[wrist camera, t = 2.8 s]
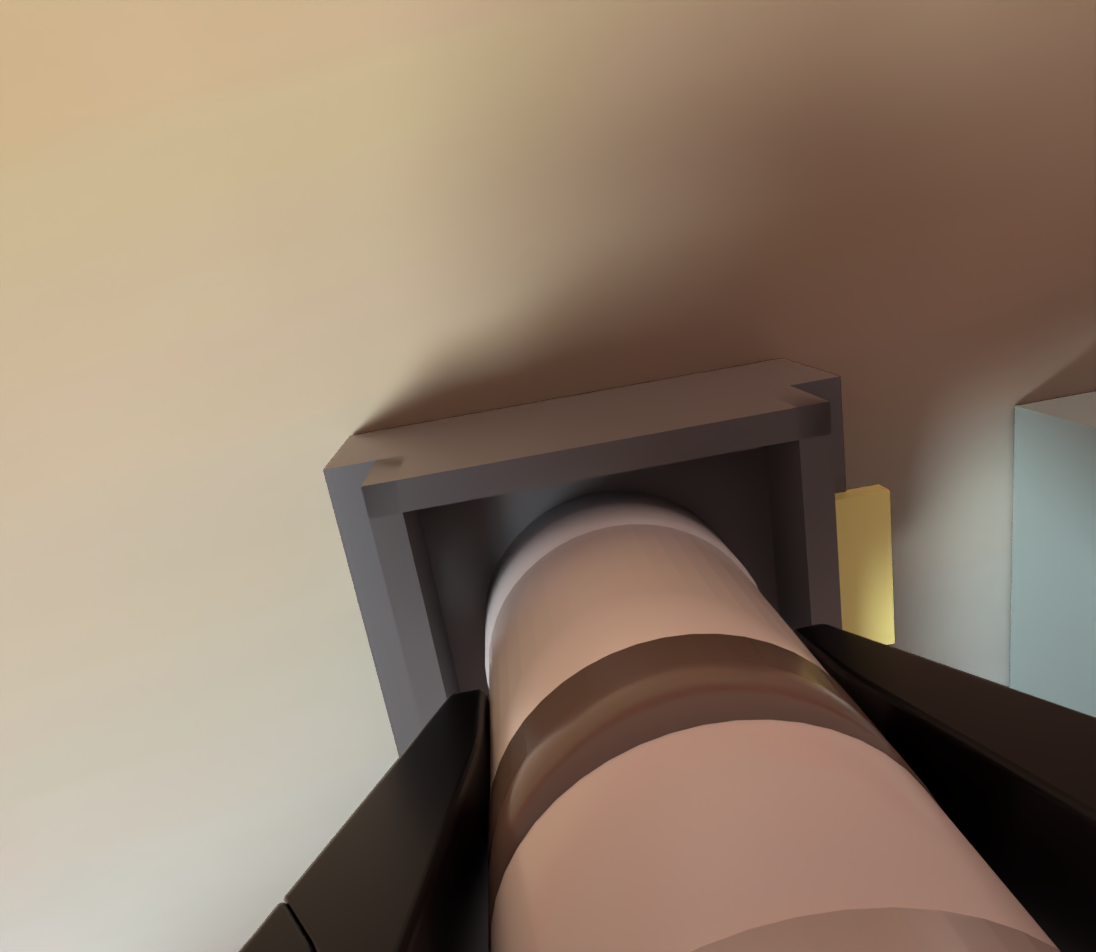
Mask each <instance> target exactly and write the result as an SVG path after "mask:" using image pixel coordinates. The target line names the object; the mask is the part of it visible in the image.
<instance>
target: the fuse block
mask: <svg viewBox="0 0 1096 952" xmlns="http://www.w3.org/2000/svg"><path fill="white" fill-rule="evenodd" d="M323 471H324V475H325V479H326V483H327V486H328V490H329V494H330V498H331V502H332V505H333V509H334V513H335V517H336V520H337V524H338V528H339V532H340V535H341V539H342V543H343V547H344V550H345V554H346V558H347V562H348V566H349V569H350V573H351V577H352V581H353V584H354V588H355V592H356V596H357V599H358V603H359V607H360V611H361V614H362V618H363V622H364V626H365V630H366V633H367V637H368V641H369V645H370V648H371V652H372V656H373V660H374V663H375V667H376V671H377V675H378V679H379V682H380V686H381V690H382V694H383V697H384V701H385V705H386V709H387V712H388V716H389V720H390V724H391V727H392V731H393V735H394V739H395V743H396V746H397V750H398V754H399V757H400V756H401V755H402V753H403V752H404V751H405V750H406V748H407V747H408V746H409V745H410V744H411V742H412V741H413V740H414V739H415V737H416V736H417V735H418V734H419V733H420V731H421V730H422V729H423V728H424V727H425V725H426V724H427V723H428V722H429V720H430V719H431V718H432V717H433V716H434V714H435V713H436V712H437V711H438V709H439V708H440V707H441V706H442V705H443V703H444V702H445V701H446V700H447V699H448V697H450V696H451V695H452V694H455V693H460V692H465V691H471V690H476V689H483V690H485V691H486V693H487V695H488V699H489V687H488V684H487V677H486V669H485V606H486V599H487V593H488V589H489V585H490V582H491V579H492V576H493V573H494V571H495V569H496V567H497V565H498V563H499V561H500V559H501V557H502V556H503V554H504V553H505V551H506V550H507V548H508V546H509V545H510V544H511V543H512V542H513V541H514V539H515V538H516V537H517V536H518V535H519V533H521V532H522V531H523V530H524V529H525V528H526V527H527V526H528V525H529V524H530V523H531V522H533V521H534V520H536V519H537V518H538V517H540V516H541V515H543V514H544V513H545V512H547V511H549V510H551V509H553V508H555V507H556V506H558V505H560V504H562V503H565V502H567V501H570V500H572V499H575V498H578V497H581V496H585V495H589V494H593V493H600V492H608V491H634V492H641V493H648V494H652V495H655V496H659V497H663V498H665V499H668V500H670V501H672V502H675V503H677V504H679V505H681V506H683V507H684V508H686V509H688V510H690V511H691V512H693V513H694V514H695V515H697V516H698V517H699V518H700V519H702V520H703V521H704V522H705V523H706V524H707V525H708V526H709V527H710V528H711V529H712V530H713V531H714V532H715V533H716V534H717V535H718V537H719V538H720V539H721V540H722V541H723V542H724V544H725V545H726V546H727V547H728V548H729V550H730V551H731V552H732V553H733V554H734V555H735V557H736V558H737V559H738V560H739V561H740V562H741V564H742V565H743V566H744V567H745V568H746V570H747V571H748V573H749V574H750V576H751V577H752V578H753V580H754V581H755V583H756V585H757V587H758V589H759V591H760V592H761V594H762V595H763V596H764V597H765V598H766V600H767V601H768V602H769V603H770V604H771V606H772V607H773V608H774V609H775V610H776V612H777V613H778V614H779V615H780V616H781V618H782V619H783V620H784V621H785V622H786V624H787V625H788V626H789V627H790V628H791V630H792V631H793V630H794V629H797V628H801V627H807V626H812V625H817V624H828V625H830V626H833V627H836V628H839V629H842V630H845V631H848V632H851V633H853V634H856V635H859V636H862V637H865V638H868V639H871V640H874V641H877V642H879V643H882V644H885V645H889V644H894V643H895V636H894V605H893V573H892V542H891V511H890V490H888V489H887V488H885V487H883V486H881V485H879V484H877V485H871V486H866V487H860V488H855V489H850V490H846V480H845V460H844V440H843V420H842V400H841V380H840V376H838V375H835V374H831V373H828V372H825V371H822V370H819V369H816V368H812V367H809V366H806V365H803V364H800V363H797V362H793V361H790V360H787V359H784V358H780V359H775V360H769V361H764V362H758V363H753V364H747V365H741V366H736V367H730V368H725V369H719V370H714V371H708V372H702V373H697V374H691V375H686V376H680V377H675V378H669V379H663V380H658V381H652V382H647V383H641V384H636V385H630V386H624V387H619V388H613V389H608V390H602V391H597V392H591V393H585V394H580V395H574V396H569V397H563V398H558V399H552V400H546V401H541V402H535V403H530V404H524V405H519V406H513V407H507V408H502V409H496V410H491V411H485V412H480V413H474V414H468V415H463V416H457V417H452V418H446V419H441V420H435V421H429V422H424V423H418V424H413V425H407V426H402V427H396V428H390V429H385V430H379V431H374V432H368V433H363V434H357V435H351V436H350V437H349V438H348V439H347V440H346V442H345V443H344V444H343V445H342V447H341V448H340V449H339V450H338V452H337V453H336V454H335V455H334V457H333V458H332V459H331V460H330V462H329V463H328V464H327V465H326V467H325V468H324V469H323Z"/></svg>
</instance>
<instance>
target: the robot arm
mask: <svg viewBox="0 0 1096 952" xmlns="http://www.w3.org/2000/svg"><path fill="white" fill-rule="evenodd" d="M793 632H794V633H795V634H796V636H797V637H798V638H799V639H800V640H801V642H802V643H803V644H804V645H805V646H806V648H807V649H808V650H809V651H810V652H811V653H812V655H813V656H814V657H815V658H816V659H817V661H818V662H819V663H820V664H821V665H822V667H823V668H824V669H825V670H826V671H827V673H828V674H829V675H830V676H831V677H832V678H834V680H835V681H836V682H837V683H838V684H839V685H840V686H841V687H842V688H843V689H844V690H845V691H846V692H847V693H848V694H849V695H850V697H851V698H852V699H853V700H854V701H855V703H856V704H857V705H858V706H859V707H860V708H861V710H862V711H863V712H864V713H865V714H866V716H867V717H868V718H869V719H870V720H871V722H872V723H873V724H874V725H875V726H876V727H877V729H878V730H879V731H880V732H881V733H882V735H883V736H884V737H885V738H886V739H887V741H888V742H889V743H890V744H891V745H892V746H893V748H894V749H895V750H896V751H897V752H898V754H899V755H900V756H901V757H902V758H903V759H904V761H905V762H906V763H907V764H908V765H909V767H910V768H911V769H912V770H913V771H914V773H915V774H916V775H917V776H918V777H919V778H920V780H921V781H922V782H923V783H924V784H925V786H926V787H927V788H928V790H929V791H930V793H931V794H932V796H933V797H934V799H935V800H936V802H937V803H938V804H939V806H940V807H941V809H942V810H943V811H944V813H945V814H946V815H947V816H948V817H949V819H950V820H951V821H952V822H953V823H954V825H955V826H956V827H957V828H958V829H959V831H960V832H961V833H962V834H963V835H964V837H965V838H966V839H967V840H968V841H969V843H970V844H971V845H972V846H973V847H974V848H975V850H976V851H977V852H978V853H979V854H980V856H981V857H982V858H983V859H984V860H985V862H986V863H987V864H988V865H989V866H990V868H991V869H992V870H993V871H994V872H995V874H996V875H997V876H998V877H999V878H1000V880H1001V881H1002V882H1003V883H1004V884H1005V886H1006V887H1007V888H1008V889H1009V890H1010V892H1011V893H1012V894H1013V895H1014V896H1015V898H1016V899H1017V900H1018V901H1019V902H1020V904H1021V905H1022V906H1023V907H1024V908H1025V910H1026V911H1027V912H1028V913H1029V914H1030V915H1031V917H1032V918H1033V919H1034V920H1035V921H1036V923H1037V924H1038V925H1039V926H1040V927H1041V929H1042V930H1043V931H1044V932H1045V933H1046V935H1047V936H1048V937H1049V938H1050V939H1051V941H1052V942H1053V943H1054V944H1055V945H1056V947H1057V948H1058V949H1059V950H1060V951H1061V952H1096V717H1093V716H1090V715H1087V714H1084V713H1082V712H1079V711H1076V710H1073V709H1070V708H1067V707H1064V706H1061V705H1058V704H1056V703H1053V702H1050V701H1047V700H1044V699H1041V698H1038V697H1035V696H1032V695H1030V694H1027V693H1024V692H1021V691H1018V690H1015V689H1012V688H1009V687H1006V686H1004V685H1001V684H998V683H995V682H992V681H989V680H986V679H983V678H980V677H978V676H975V675H972V674H969V673H966V672H963V671H960V670H957V669H955V668H952V667H949V666H946V665H943V664H940V663H937V662H934V661H931V660H929V659H926V658H923V657H920V656H917V655H914V654H911V653H908V652H905V651H903V650H900V649H897V648H894V647H891V646H888V645H885V644H882V643H879V642H877V641H874V640H871V639H868V638H865V637H862V636H859V635H856V634H853V633H851V632H848V631H845V630H842V629H839V628H836V627H833V626H830V625H828V624H817V625H812V626H807V627H801V628H797V629H794V630H793ZM489 800H490V721H489V699H488V695H487V693H486V691H485V690H483V689H476V690H471V691H465V692H460V693H455V694H452V695H451V696H450V697H448V699H447V700H446V701H445V702H444V703H443V705H442V706H441V707H440V708H439V709H438V711H437V712H436V713H435V714H434V716H433V717H432V718H431V719H430V720H429V722H428V723H427V724H426V725H425V727H424V728H423V729H422V730H421V731H420V733H419V734H418V735H417V736H416V737H415V739H414V740H413V741H412V742H411V744H410V745H409V746H408V747H407V748H406V750H405V751H404V752H403V753H402V755H401V756H400V757H399V758H398V759H397V761H396V762H395V763H394V764H393V766H392V767H391V768H390V769H389V770H388V772H387V773H386V774H385V775H384V776H383V778H382V779H381V780H380V781H379V783H378V784H377V785H376V786H375V787H374V789H373V790H372V791H371V792H370V794H369V795H368V796H367V797H366V798H365V800H364V801H363V802H362V803H361V804H360V806H359V807H358V808H357V809H356V811H355V812H354V813H353V814H352V815H351V817H350V818H349V819H348V820H347V822H346V823H345V824H344V825H343V826H342V828H341V829H340V830H339V831H338V833H337V834H336V835H335V836H334V837H333V839H332V840H331V841H330V842H329V843H328V845H327V846H326V847H325V848H324V850H323V851H322V852H321V853H320V854H319V856H318V857H317V858H316V859H315V861H314V862H313V863H312V864H311V865H310V867H309V868H308V869H307V870H306V871H305V873H304V874H303V875H302V876H301V878H300V879H299V880H298V881H297V882H296V884H295V885H294V886H293V887H292V889H291V890H290V891H289V892H288V893H287V895H286V896H285V898H284V902H285V903H279V904H278V905H277V906H276V908H275V909H274V910H273V911H272V912H271V914H270V915H269V916H268V917H267V919H266V920H265V921H264V922H263V923H262V925H261V926H260V927H259V928H258V929H257V931H256V932H255V933H254V934H253V936H252V937H251V938H250V939H249V940H248V941H247V943H246V944H245V945H244V946H243V947H242V948H241V949H240V951H239V952H489V951H488V806H489Z"/></svg>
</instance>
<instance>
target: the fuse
mask: <svg viewBox="0 0 1096 952" xmlns="http://www.w3.org/2000/svg"><path fill="white" fill-rule="evenodd" d="M485 669H486V677H487V684H488V687H489V721H490V800H489V806H488V951H489V952H1061V951H1060V950H1059V949H1058V948H1057V947H1056V945H1055V944H1054V943H1053V942H1052V941H1051V939H1050V938H1049V937H1048V936H1047V935H1046V933H1045V932H1044V931H1043V930H1042V929H1041V927H1040V926H1039V925H1038V924H1037V923H1036V921H1035V920H1034V919H1033V918H1032V917H1031V915H1030V914H1029V913H1028V912H1027V911H1026V910H1025V908H1024V907H1023V906H1022V905H1021V904H1020V902H1019V901H1018V900H1017V899H1016V898H1015V896H1014V895H1013V894H1012V893H1011V892H1010V890H1009V889H1008V888H1007V887H1006V886H1005V884H1004V883H1003V882H1002V881H1001V880H1000V878H999V877H998V876H997V875H996V874H995V872H994V871H993V870H992V869H991V868H990V866H989V865H988V864H987V863H986V862H985V860H984V859H983V858H982V857H981V856H980V854H979V853H978V852H977V851H976V850H975V848H974V847H973V846H972V845H971V844H970V843H969V841H968V840H967V839H966V838H965V837H964V835H963V834H962V833H961V832H960V831H959V829H958V828H957V827H956V826H955V825H954V823H953V822H952V821H951V820H950V819H949V817H948V816H947V815H946V814H945V813H944V811H943V810H942V809H941V807H940V806H939V804H938V803H937V802H936V800H935V799H934V797H933V796H932V794H931V793H930V791H929V790H928V788H927V787H926V786H925V784H924V783H923V782H922V781H921V780H920V778H919V777H918V776H917V775H916V774H915V773H914V771H913V770H912V769H911V768H910V767H909V765H908V764H907V763H906V762H905V761H904V759H903V758H902V757H901V756H900V755H899V754H898V752H897V751H896V750H895V749H894V748H893V746H892V745H891V744H890V743H889V742H888V741H887V739H886V738H885V737H884V736H883V735H882V733H881V732H880V731H879V730H878V729H877V727H876V726H875V725H874V724H873V723H872V722H871V720H870V719H869V718H868V717H867V716H866V714H865V713H864V712H863V711H862V710H861V708H860V707H859V706H858V705H857V704H856V703H855V701H854V700H853V699H852V698H851V697H850V695H849V694H848V693H847V692H846V691H845V690H844V689H843V688H842V687H841V686H840V685H839V684H838V683H837V682H836V681H835V680H834V678H832V677H831V676H830V675H829V674H828V673H827V671H826V670H825V669H824V668H823V667H822V665H821V664H820V663H819V662H818V661H817V659H816V658H815V657H814V656H813V655H812V653H811V652H810V651H809V650H808V649H807V648H806V646H805V645H804V644H803V643H802V642H801V640H800V639H799V638H798V637H797V636H796V634H795V633H794V632H793V631H792V630H791V628H790V627H789V626H788V625H787V624H786V622H785V621H784V620H783V619H782V618H781V616H780V615H779V614H778V613H777V612H776V610H775V609H774V608H773V607H772V606H771V604H770V603H769V602H768V601H767V600H766V598H765V597H764V596H763V595H762V594H761V592H760V591H759V589H758V587H757V585H756V583H755V581H754V580H753V578H752V577H751V576H750V574H749V573H748V571H747V570H746V568H745V567H744V566H743V565H742V564H741V562H740V561H739V560H738V559H737V558H736V557H735V555H734V554H733V553H732V552H731V551H730V550H729V548H728V547H727V546H726V545H725V544H724V542H723V541H722V540H721V539H720V538H719V537H718V535H717V534H716V533H715V532H714V531H713V530H712V529H711V528H710V527H709V526H708V525H707V524H706V523H705V522H704V521H703V520H702V519H700V518H699V517H698V516H697V515H695V514H694V513H693V512H691V511H690V510H688V509H686V508H684V507H683V506H681V505H679V504H677V503H675V502H672V501H670V500H668V499H665V498H663V497H659V496H655V495H652V494H648V493H641V492H634V491H608V492H600V493H593V494H589V495H585V496H581V497H578V498H575V499H572V500H570V501H567V502H565V503H562V504H560V505H558V506H556V507H555V508H553V509H551V510H549V511H547V512H545V513H544V514H543V515H541V516H540V517H538V518H537V519H536V520H534V521H533V522H531V523H530V524H529V525H528V526H527V527H526V528H525V529H524V530H523V531H522V532H521V533H519V535H518V536H517V537H516V538H515V539H514V541H513V542H512V543H511V544H510V545H509V546H508V548H507V550H506V551H505V553H504V554H503V556H502V557H501V559H500V561H499V563H498V565H497V567H496V569H495V571H494V573H493V576H492V579H491V582H490V585H489V589H488V593H487V599H486V606H485Z"/></svg>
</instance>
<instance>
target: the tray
mask: <svg viewBox="0 0 1096 952" xmlns="http://www.w3.org/2000/svg"><path fill="white" fill-rule="evenodd" d="M1010 688H1012V689H1015V690H1018V691H1021V692H1024V693H1027V694H1030V695H1032V696H1035V697H1038V698H1041V699H1044V700H1047V701H1050V702H1053V703H1056V704H1058V705H1061V706H1064V707H1067V708H1070V709H1073V710H1076V711H1079V712H1082V713H1084V714H1087V715H1090V716H1093V717H1096V391H1094V392H1088V393H1083V394H1077V395H1072V396H1067V397H1061V398H1056V399H1050V400H1045V401H1039V402H1034V403H1028V404H1023V405H1018V406H1015V432H1014V484H1013V535H1012V586H1011V637H1010Z"/></svg>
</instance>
